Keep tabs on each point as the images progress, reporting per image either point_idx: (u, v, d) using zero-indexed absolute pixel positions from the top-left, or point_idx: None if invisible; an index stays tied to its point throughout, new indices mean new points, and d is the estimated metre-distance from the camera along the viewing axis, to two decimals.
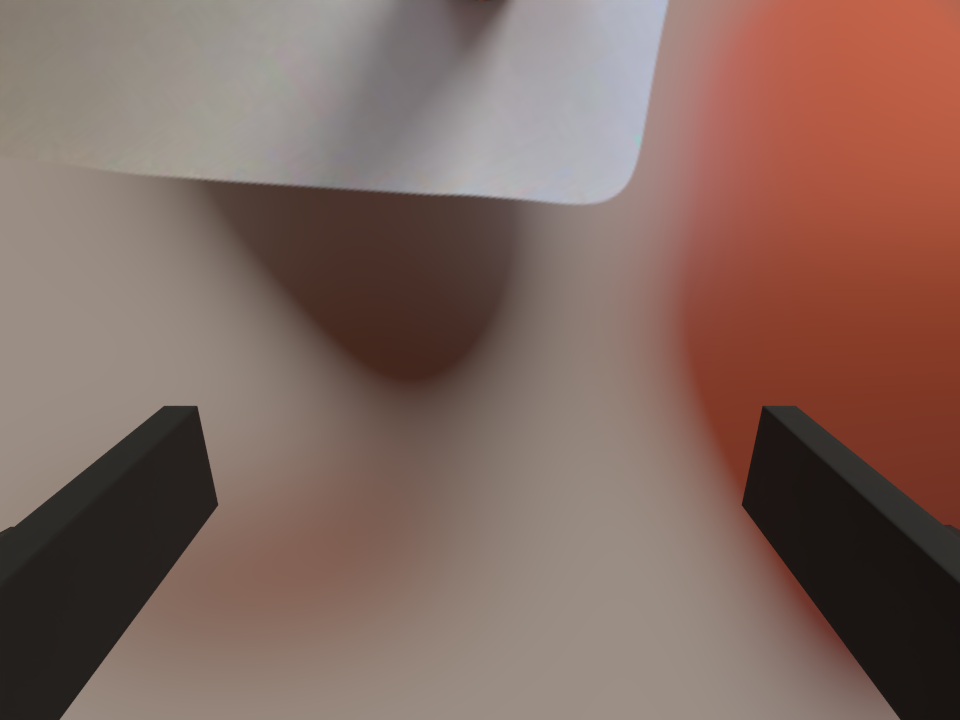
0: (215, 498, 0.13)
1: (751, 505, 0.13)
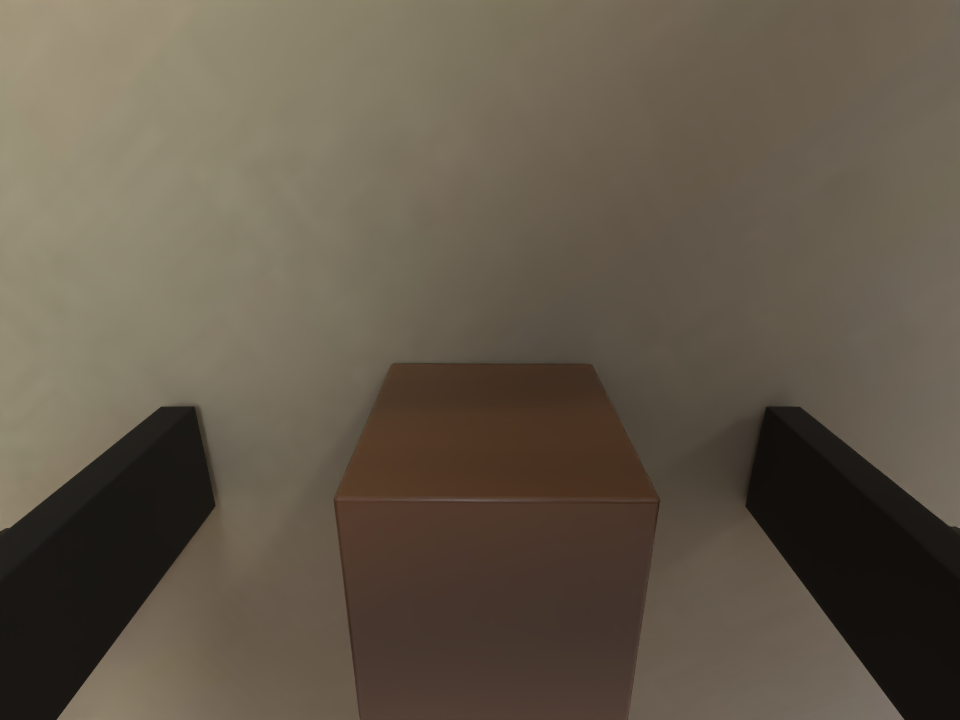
0: (212, 499, 0.13)
1: (755, 506, 0.13)
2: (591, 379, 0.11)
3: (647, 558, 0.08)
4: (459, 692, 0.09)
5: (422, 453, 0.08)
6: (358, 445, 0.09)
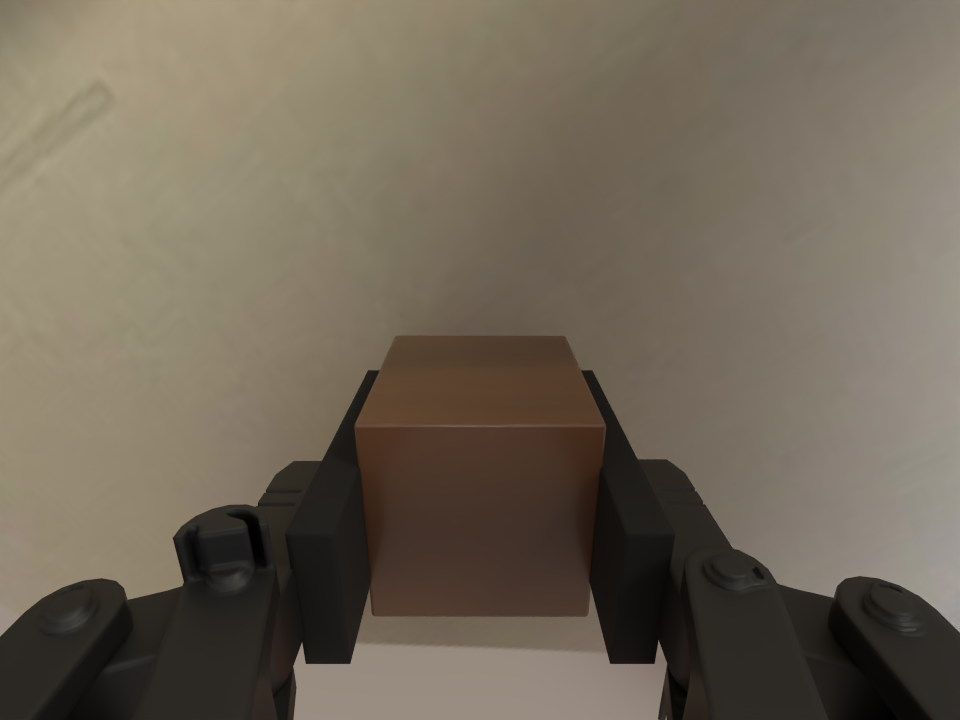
0: None
1: None
2: (563, 346, 0.13)
3: (598, 474, 0.10)
4: (452, 589, 0.11)
5: (422, 396, 0.11)
6: (371, 392, 0.11)
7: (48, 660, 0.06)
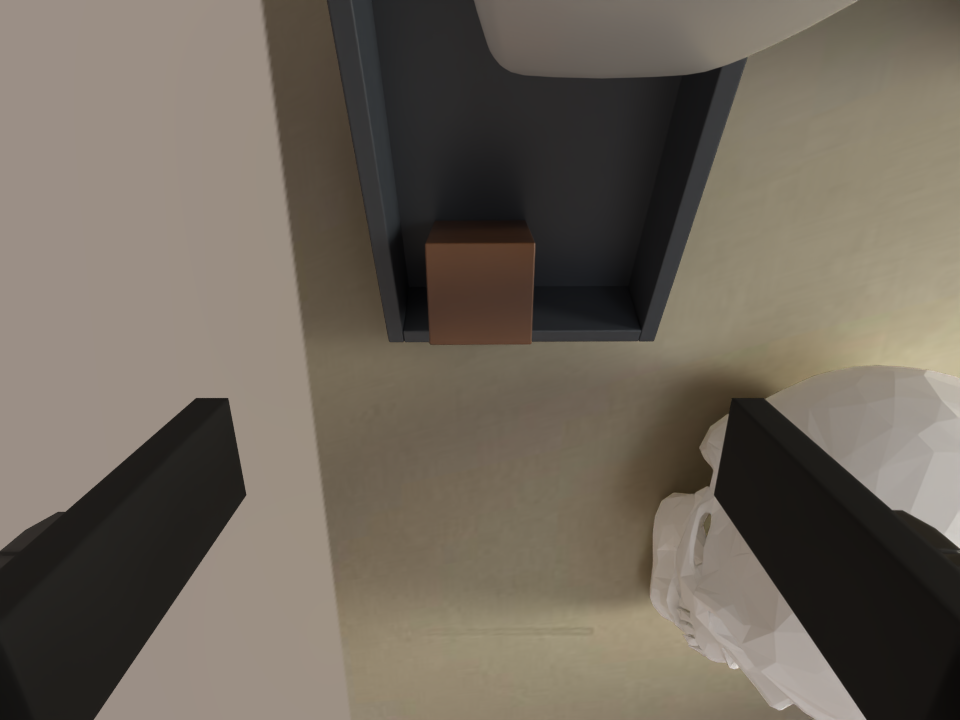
0: (243, 488, 0.13)
1: (722, 494, 0.13)
2: (523, 223, 0.25)
3: (532, 267, 0.22)
4: (467, 329, 0.23)
5: (453, 237, 0.23)
6: (429, 236, 0.23)
7: None
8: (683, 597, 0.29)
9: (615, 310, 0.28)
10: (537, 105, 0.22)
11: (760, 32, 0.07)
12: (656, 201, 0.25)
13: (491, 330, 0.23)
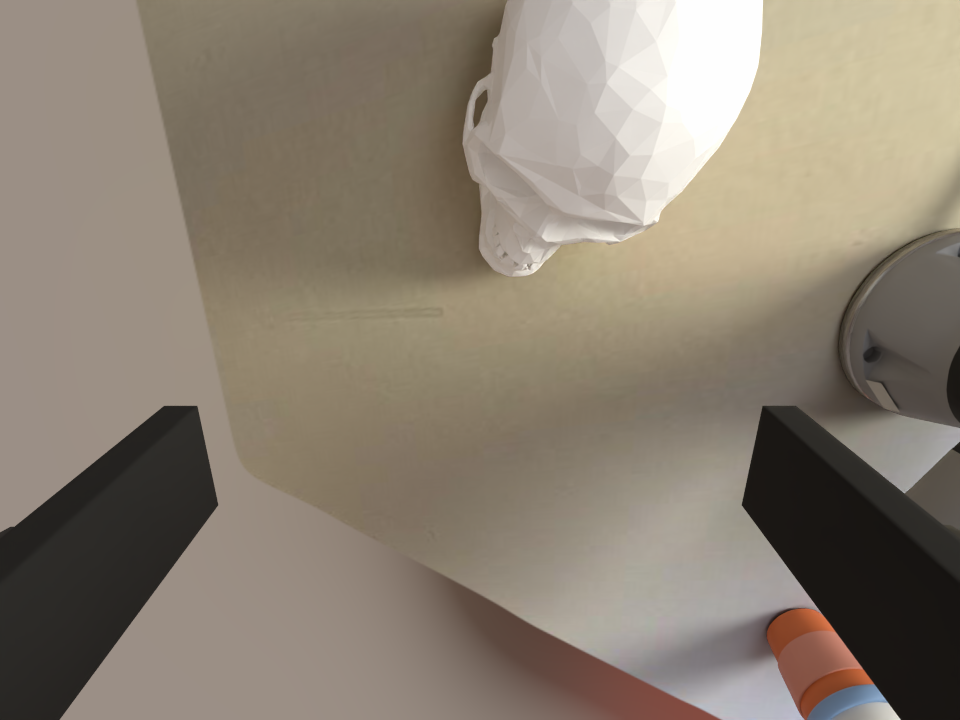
0: (215, 498, 0.13)
1: (751, 505, 0.13)
2: None
3: None
4: None
5: None
6: None
7: None
8: (468, 167, 0.31)
9: None
10: None
11: None
12: None
13: None
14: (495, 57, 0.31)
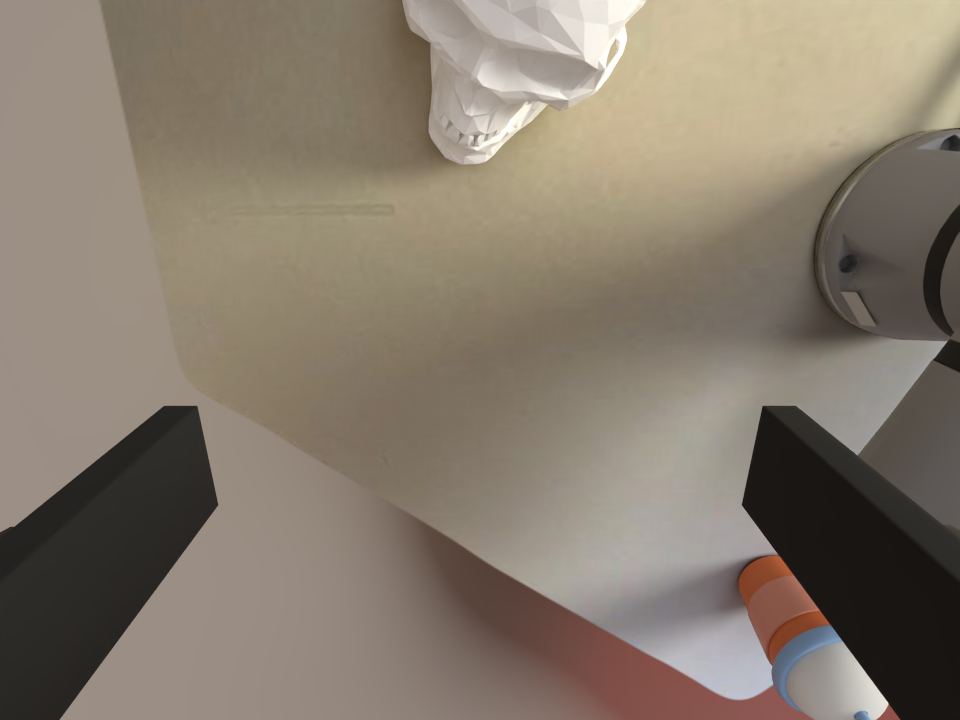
0: (215, 498, 0.13)
1: (751, 505, 0.13)
2: None
3: None
4: None
5: None
6: None
7: None
8: (405, 13, 0.29)
9: None
10: None
11: None
12: None
13: None
14: None
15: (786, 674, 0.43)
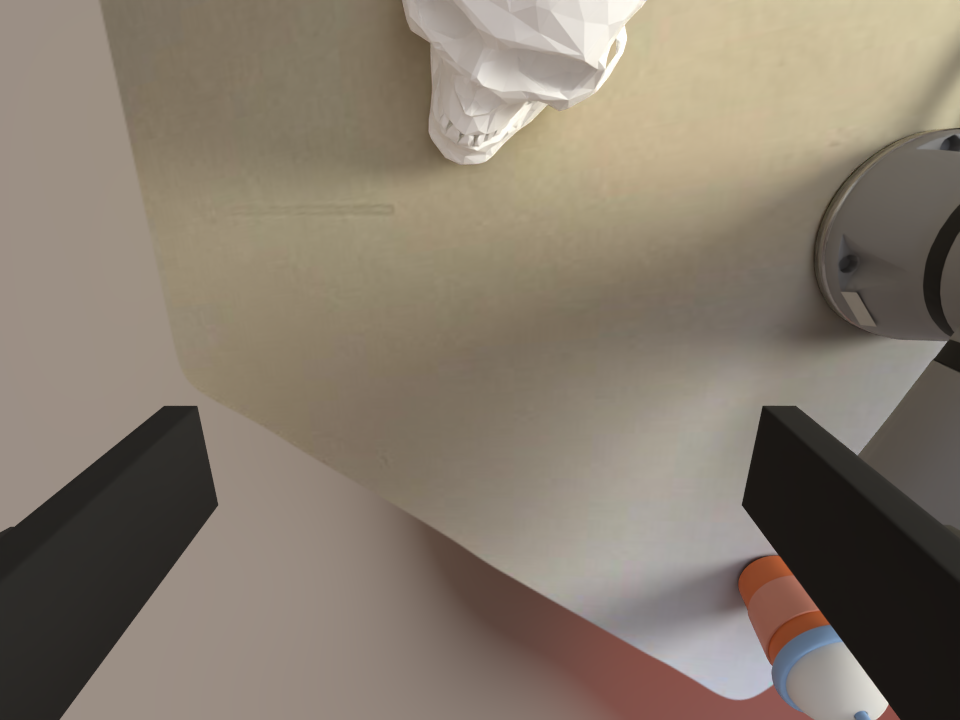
0: (215, 498, 0.13)
1: (751, 505, 0.13)
2: None
3: None
4: None
5: None
6: None
7: None
8: (405, 13, 0.29)
9: None
10: None
11: None
12: None
13: None
14: None
15: (786, 674, 0.43)
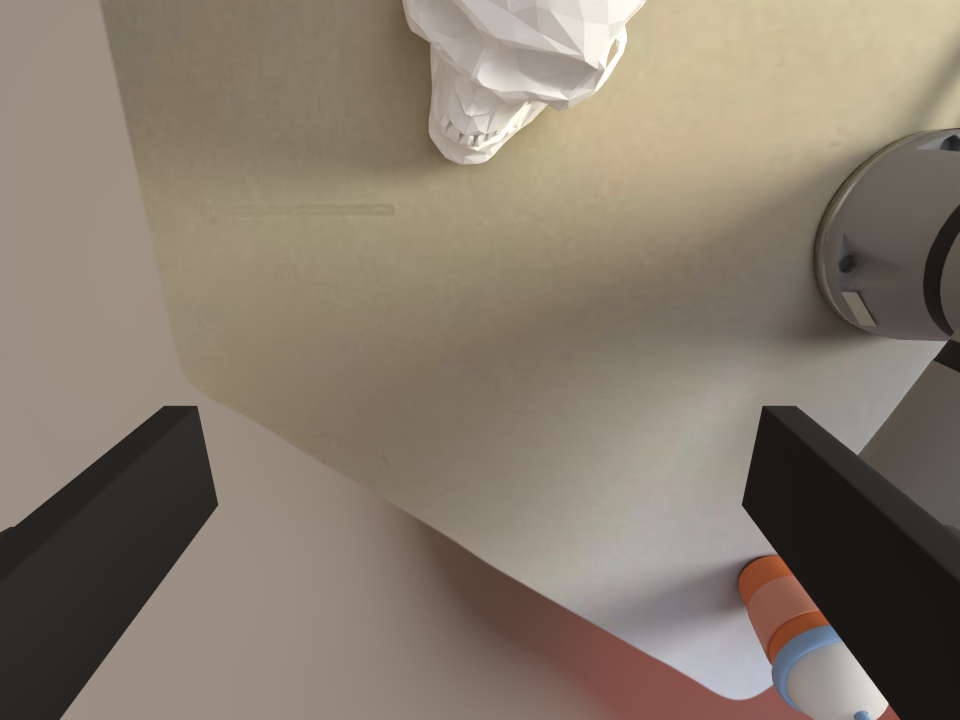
0: (215, 498, 0.13)
1: (751, 505, 0.13)
2: None
3: None
4: None
5: None
6: None
7: None
8: (405, 13, 0.29)
9: None
10: None
11: None
12: None
13: None
14: None
15: (786, 674, 0.43)
